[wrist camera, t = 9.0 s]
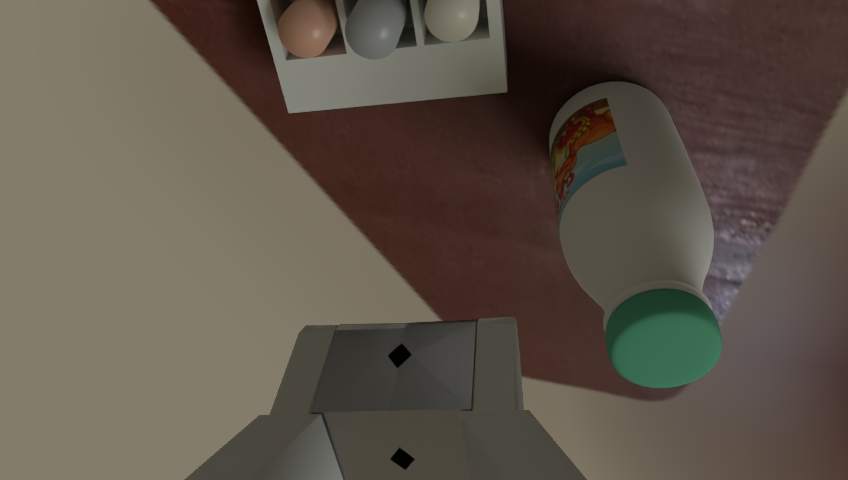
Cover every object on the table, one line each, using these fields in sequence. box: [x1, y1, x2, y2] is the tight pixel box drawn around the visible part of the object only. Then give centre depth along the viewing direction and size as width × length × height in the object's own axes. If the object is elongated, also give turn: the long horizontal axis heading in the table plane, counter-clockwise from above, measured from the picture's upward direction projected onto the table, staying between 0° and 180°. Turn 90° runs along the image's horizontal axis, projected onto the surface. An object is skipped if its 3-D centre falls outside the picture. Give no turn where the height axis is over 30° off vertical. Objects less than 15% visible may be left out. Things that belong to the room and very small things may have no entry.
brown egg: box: [278, 0, 340, 58], centre depth 38 cm, size 3×3×4 cm
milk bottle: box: [549, 82, 722, 388], centre depth 36 cm, size 8×8×20 cm
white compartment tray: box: [257, 0, 507, 113], centre depth 38 cm, size 10×13×4 cm
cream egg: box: [424, 0, 480, 42], centre depth 37 cm, size 3×3×4 cm
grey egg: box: [345, 0, 409, 60], centre depth 36 cm, size 3×3×4 cm
